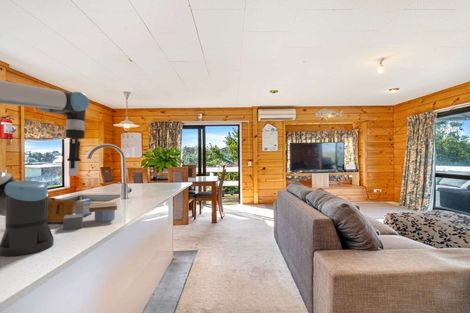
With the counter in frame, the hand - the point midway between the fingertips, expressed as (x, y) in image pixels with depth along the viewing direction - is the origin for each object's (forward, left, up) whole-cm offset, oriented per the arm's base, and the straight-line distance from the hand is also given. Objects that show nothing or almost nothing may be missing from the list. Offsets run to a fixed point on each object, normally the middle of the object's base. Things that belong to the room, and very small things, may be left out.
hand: (73, 175), depth 120 cm
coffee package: (+18, +19, -18) cm, 32 cm away
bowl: (+6, -13, -24) cm, 28 cm away
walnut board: (+6, -12, -18) cm, 23 cm away
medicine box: (+20, -3, -24) cm, 32 cm away
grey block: (-3, 0, -24) cm, 24 cm away
